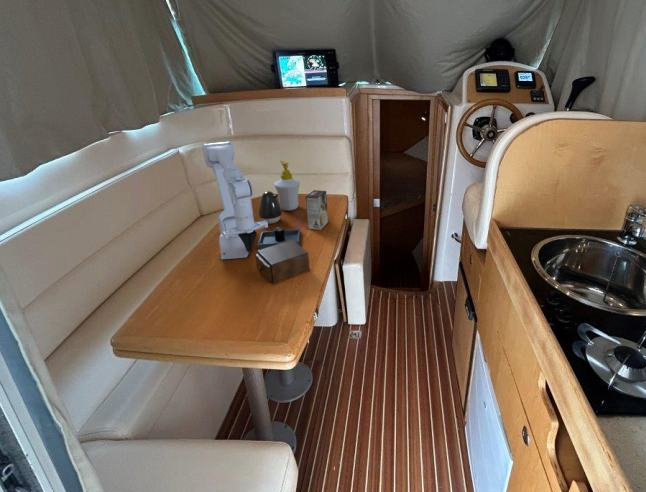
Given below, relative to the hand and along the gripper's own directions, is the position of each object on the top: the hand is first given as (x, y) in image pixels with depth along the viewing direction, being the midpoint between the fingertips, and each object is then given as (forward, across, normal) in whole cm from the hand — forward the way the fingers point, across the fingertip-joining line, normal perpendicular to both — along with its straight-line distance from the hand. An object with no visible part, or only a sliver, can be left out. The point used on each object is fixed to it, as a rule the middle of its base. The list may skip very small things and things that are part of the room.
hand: (249, 250), depth 126 cm
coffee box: (+10, +39, +21) cm, 45 cm away
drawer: (+8, +8, -5) cm, 12 cm away
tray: (+9, +19, +18) cm, 28 cm away
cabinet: (+9, +10, -5) cm, 14 cm away
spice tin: (+9, +19, +18) cm, 28 cm away
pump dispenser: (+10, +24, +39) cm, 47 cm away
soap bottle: (+10, +38, +50) cm, 63 cm away
